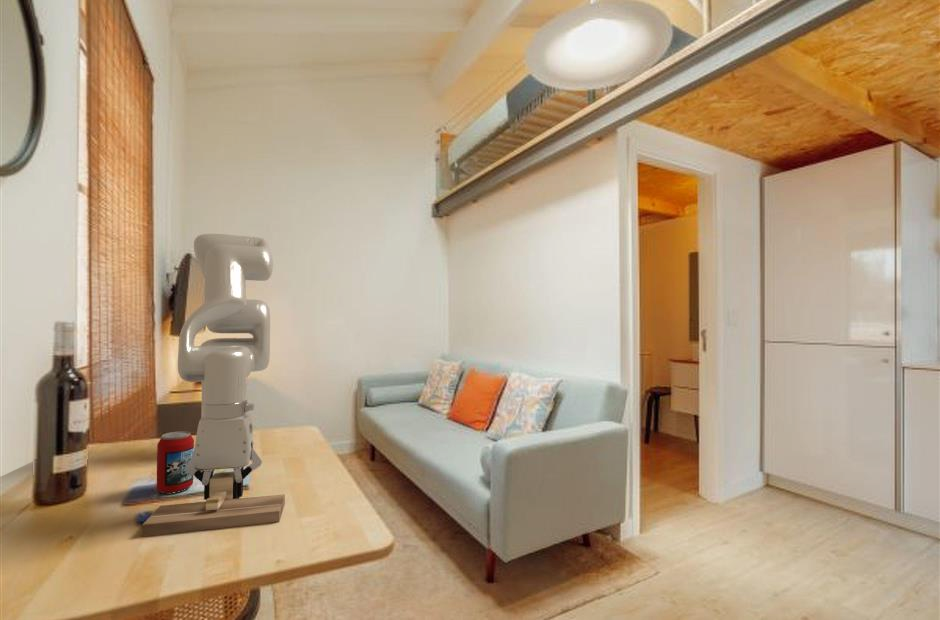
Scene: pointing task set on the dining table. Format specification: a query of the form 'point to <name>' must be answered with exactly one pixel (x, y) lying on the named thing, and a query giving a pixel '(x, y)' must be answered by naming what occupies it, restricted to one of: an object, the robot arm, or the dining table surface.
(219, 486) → the block
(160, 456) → the beverage can
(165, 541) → the dining table surface
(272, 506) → the board
